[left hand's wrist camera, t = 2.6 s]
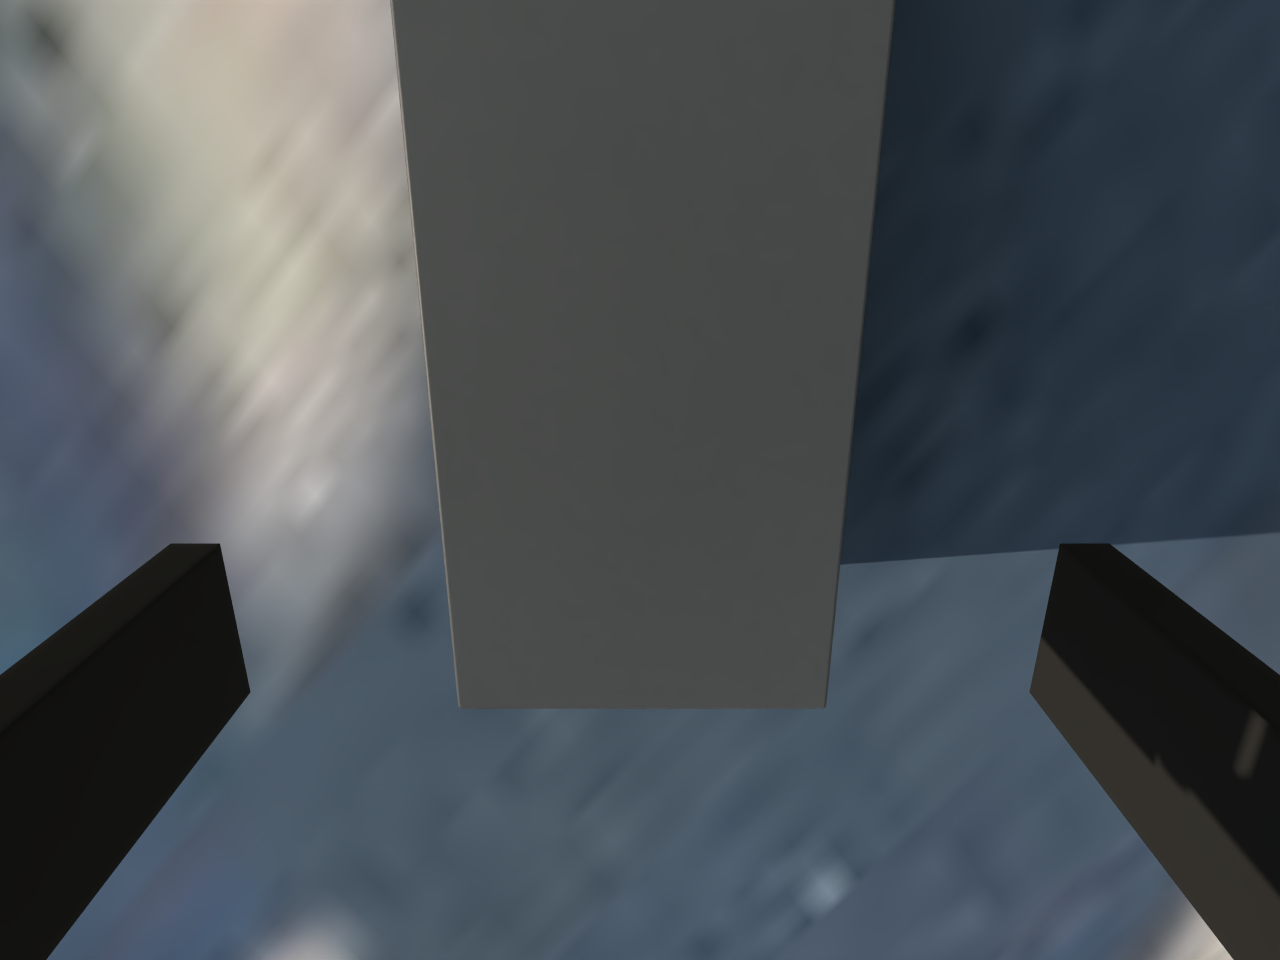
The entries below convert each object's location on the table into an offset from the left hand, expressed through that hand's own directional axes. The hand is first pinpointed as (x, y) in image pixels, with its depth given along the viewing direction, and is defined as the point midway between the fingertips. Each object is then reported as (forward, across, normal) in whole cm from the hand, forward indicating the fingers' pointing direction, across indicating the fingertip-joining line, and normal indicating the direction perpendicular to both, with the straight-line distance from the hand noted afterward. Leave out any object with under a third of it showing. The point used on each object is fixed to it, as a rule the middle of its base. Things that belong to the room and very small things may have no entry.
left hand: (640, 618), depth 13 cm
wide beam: (+11, 0, -25) cm, 28 cm away
